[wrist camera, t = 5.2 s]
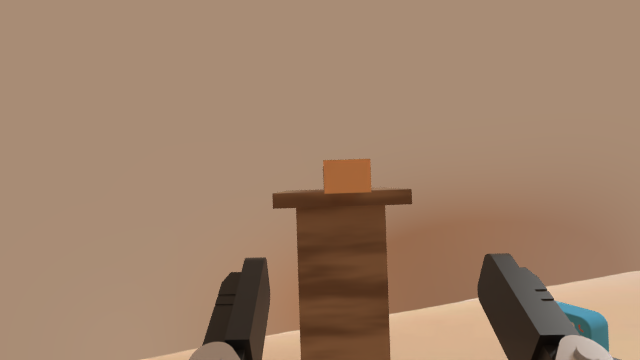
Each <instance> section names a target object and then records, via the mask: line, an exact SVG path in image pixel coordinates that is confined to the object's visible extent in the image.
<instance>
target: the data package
mask: <svg viewBox="0 0 640 360" xmlns="http://www.w3.org/2000/svg"><path fill="white" fill-rule="evenodd" d="M556 302H557V304H558V305H559V306H560V308H561V309H562V311H563V312H564V313H565V315H566V316H567V317H568V319H569V320H570V322H571V323H572V324H573V326H574V327H575V328H576V330H577V331H578V333H579V334H580V335H581V336H583V337H586V338H589V339H591V340H593V341H595V342H596V343H598V344H599V345H601V346H602V347H603V348H605V349H606V350H607V351H608V352H609V339H608V323H607V321H606V319H605V318H604V316H602V315H601V314H600V313H598V312H595V311H592V310H588V309H584V308H580V307H577V306H573V305H569V304H565V303H562V302H558V301H556Z"/></svg>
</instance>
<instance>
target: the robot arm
mask: <svg viewBox="0 0 640 360" xmlns="http://www.w3.org/2000/svg"><path fill="white" fill-rule="evenodd" d="M478 297H479V301H480V303H481V305H482V307H483V309H484V311H485V313H486V315H487V317H488V319H489V321H490V324H491V326H492V328H493V330H494V332H495V334H496V336H497V338H498V340H499V342H500V344H501V346H502V348H503V350H504V352H505V354H506V356H507V358H508V360H620V359H616V358H613V357H612V356H611V355H610V354H609V352H608V351H607V350H606V349H605V348H603V347H602V346H601V345H599V344H598V343H596V342H595V341H593V340H591V339H589V338H586V337H583V336H581V335H580V334H579V333H578V331H577V330H576V328H575V327H574V326H573V324H572V323H571V322H570V320H569V319H568V317H567V316H566V315H565V313H564V312H563V311H562V309H561V308H560V306H559V305H558V304H557V302H556V301H554V298H553V297H552V295H551V294H550V293H549V291H547V289H546V287H545V286H544V284H543V283H542V282H541V281H540V279H539V278H538V277H537V276H536V275H534V274H533V273H532V272H531V271H529V270H528V269H527V268H519V266H518V265H517V263H516V262H515V260H514V259H513V257H512V256H511V255H510V254H507V253H506V254H487V255H485V257H484V261H483V266H482V269H481V274H480V278H479V282H478ZM269 305H270V286H269V277H268V269H267V260H266V258H246V259H245V261H244V264H243V268H242V272H231V273H230V274H229V275H228V276H227V277H226V279H225V280H224V281H223V282H222V284H221V287H220V290H219V294H218V297H217V300H216V304H215V307H214V310H213V313H212V316H211V320H210V323H209V326H208V329H207V333H206V336H205V339H204V342H203V345H202V346H201V347H200V348H198V349H197V350H196V351H195V352H194V353H193V354H192V356H191V357H190V359H189V360H262V354H263V347H264V340H265V333H266V326H267V319H268V312H269Z"/></svg>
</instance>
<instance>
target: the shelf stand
mask: <svg viewBox="0 0 640 360" xmlns="http://www.w3.org/2000/svg"><path fill="white" fill-rule="evenodd" d="M411 194H412V192H411V189H400V188H371V192H364V193H333V194H324V190H300V191H299V190H296V191H284V192H279V193H274V194H273V209H274V208H296V214H297V215H296V218H297V248H298V278H299V279H298V280H299V310H300V343H301V360H390V336H389V309H388V308H389V307H388V278H387V251H386V250H387V249H386V220H385V205H399V204H412V195H411Z"/></svg>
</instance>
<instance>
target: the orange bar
mask: <svg viewBox="0 0 640 360" xmlns="http://www.w3.org/2000/svg"><path fill="white" fill-rule="evenodd" d="M323 164H324V166H323V177H324V194H333V193H364V192H371V167H370V159H349V160H324V161H323Z"/></svg>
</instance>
